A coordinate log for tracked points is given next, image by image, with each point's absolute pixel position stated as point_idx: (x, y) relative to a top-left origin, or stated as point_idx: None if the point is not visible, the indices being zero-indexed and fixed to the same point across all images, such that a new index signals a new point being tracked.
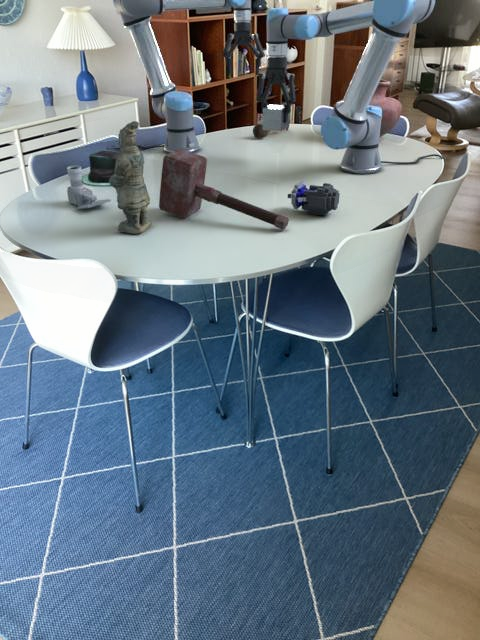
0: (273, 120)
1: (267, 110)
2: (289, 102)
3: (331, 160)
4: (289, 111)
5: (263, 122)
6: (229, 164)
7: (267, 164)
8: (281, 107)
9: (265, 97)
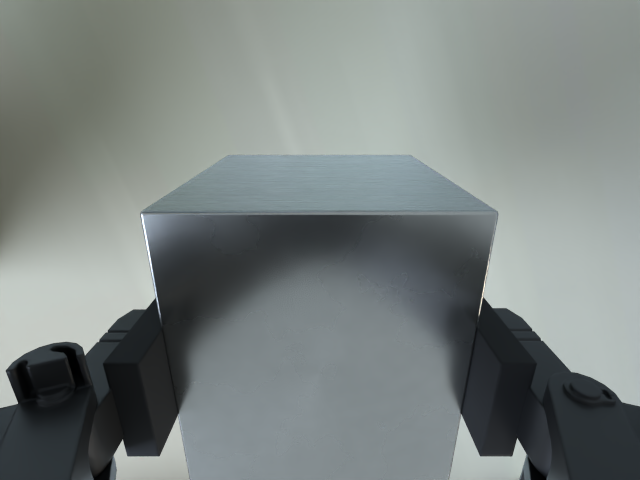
0: (301, 173)
1: (401, 201)
2: (29, 415)
3: (86, 295)
4: (116, 325)
5: (421, 165)
6: (549, 63)
7: (343, 133)
8: (220, 354)
9: (569, 465)
